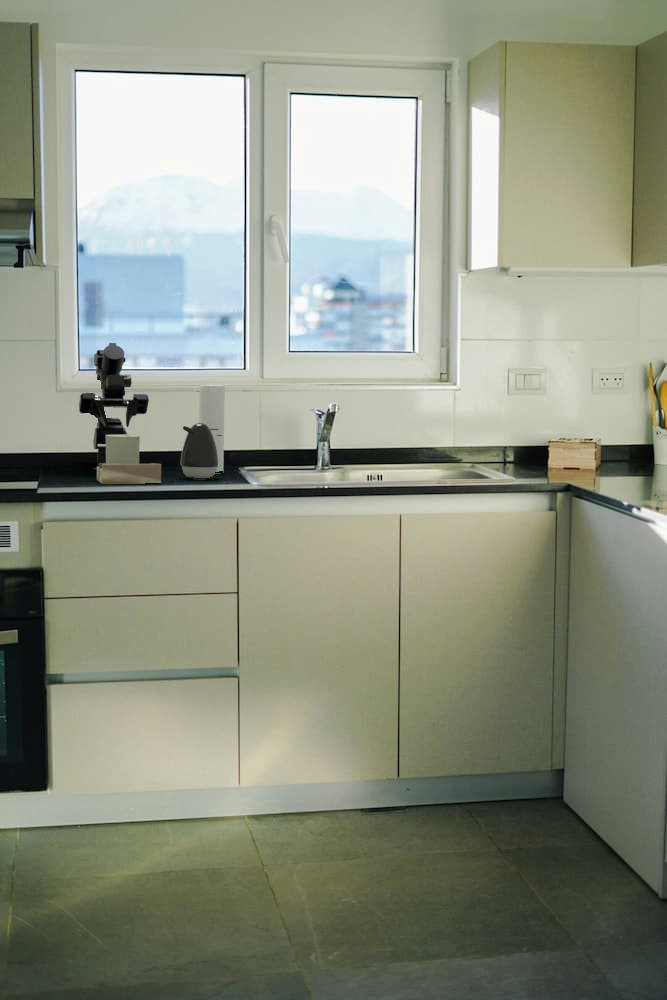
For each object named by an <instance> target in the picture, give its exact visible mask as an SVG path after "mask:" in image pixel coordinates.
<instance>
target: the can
mask: <svg viewBox="0 0 667 1000" xmlns="http://www.w3.org/2000/svg"><path fill="white" fill-rule="evenodd" d="M140 437H141V436H140V435H137V434H128V433H127V434H124V435H106V444H105V446H106V464H140V443H141V442H140Z"/></svg>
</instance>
